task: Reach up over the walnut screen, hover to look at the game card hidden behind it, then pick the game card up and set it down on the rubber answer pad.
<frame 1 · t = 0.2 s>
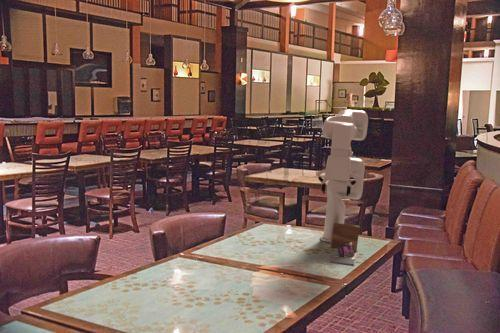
hand: (335, 194, 213), 31 cm above the table, tool pointing down, fingers open, 9 cm apart
answer pad: (342, 261, 226), on the table
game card: (342, 256, 234), on the table
screen: (343, 249, 245), on the table
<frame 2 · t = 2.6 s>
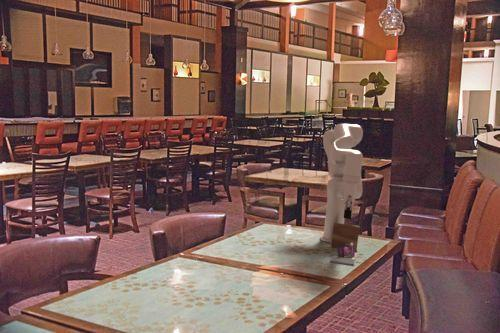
hand: (347, 216, 232), 18 cm above the table, tool pointing down, fingers open, 9 cm apart
nothing on the table moved.
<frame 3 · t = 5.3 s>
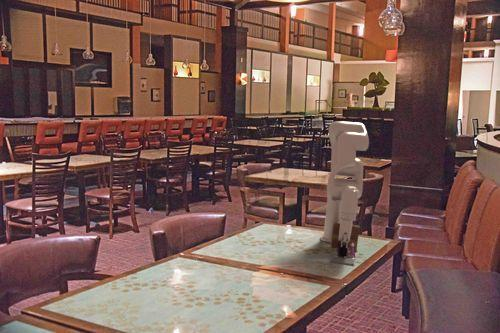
hand: (343, 253, 234), 1 cm above the table, tool pointing down, fingers open, 7 cm apart
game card: (343, 257, 234), on the table, touching gripper
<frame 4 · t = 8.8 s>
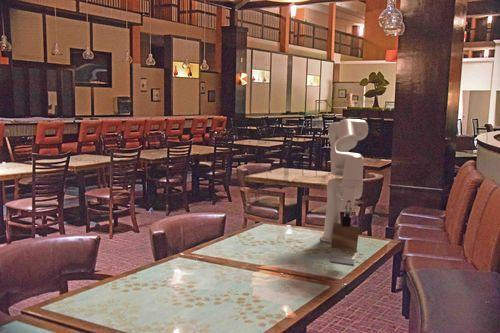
hand: (346, 224, 224), 17 cm above the table, tool pointing down, fingers closed on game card, 5 cm apart
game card: (347, 226, 224), point 16 cm above the table, touching gripper
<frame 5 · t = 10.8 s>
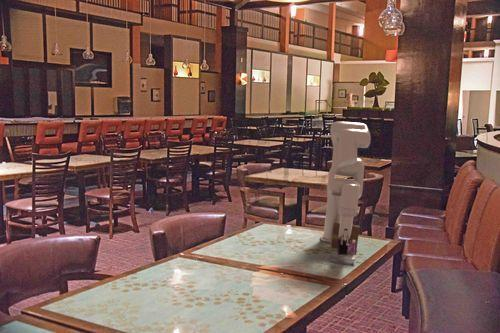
hand: (343, 251, 225), 4 cm above the table, tool pointing down, fingers closed on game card, 5 cm apart
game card: (344, 254, 225), point 3 cm above the table, touching gripper
when the fingers open (3 cm above the table, at t = 12.1 s): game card drops 1 cm, resting on answer pad.
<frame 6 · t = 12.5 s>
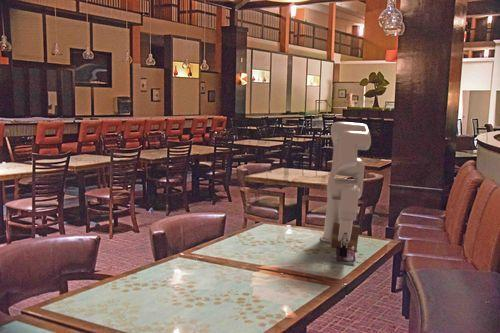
hand: (343, 253, 225), 4 cm above the table, tool pointing down, fingers open, 9 cm apart
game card: (343, 260, 226), resting on answer pad
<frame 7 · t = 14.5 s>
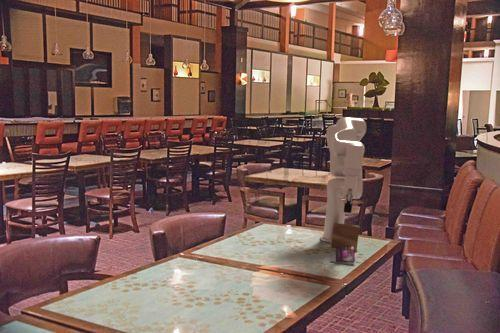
hand: (347, 209, 227), 22 cm above the table, tool pointing down, fingers open, 9 cm apart
nothing on the table moved.
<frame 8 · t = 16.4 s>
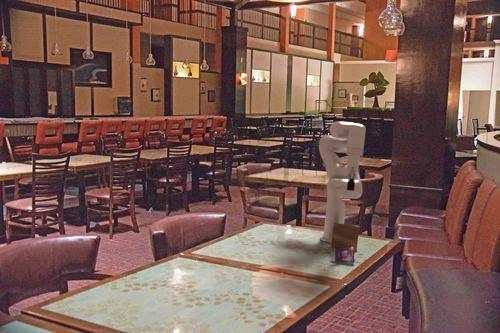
hand: (350, 188, 236), 30 cm above the table, tool pointing down, fingers open, 9 cm apart
nothing on the table moved.
at the end: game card inside the target area on the answer pad (0.6 cm from its centre), point 0.4 cm above the answer pad's base; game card tilted 0°; the gripper is holding nothing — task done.
